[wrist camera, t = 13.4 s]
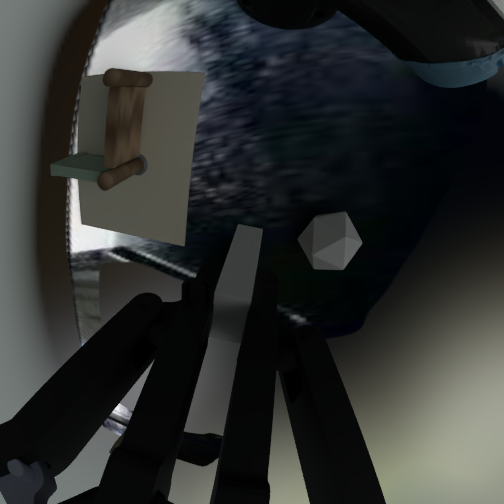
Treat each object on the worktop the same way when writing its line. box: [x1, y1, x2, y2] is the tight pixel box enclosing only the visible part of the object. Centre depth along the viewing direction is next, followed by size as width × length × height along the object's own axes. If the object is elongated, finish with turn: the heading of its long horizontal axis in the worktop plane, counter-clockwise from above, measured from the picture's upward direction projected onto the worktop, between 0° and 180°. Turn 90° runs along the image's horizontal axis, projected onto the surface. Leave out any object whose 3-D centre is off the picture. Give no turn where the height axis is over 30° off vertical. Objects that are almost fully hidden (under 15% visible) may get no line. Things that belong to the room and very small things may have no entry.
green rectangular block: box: [51, 152, 112, 183], centre depth 35 cm, size 10×2×8 cm, turn 77°
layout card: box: [78, 72, 205, 246], centre depth 39 cm, size 28×22×1 cm
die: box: [297, 212, 362, 270], centre depth 39 cm, size 8×9×10 cm
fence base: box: [97, 68, 153, 191], centre depth 32 cm, size 16×2×10 cm, turn 170°
